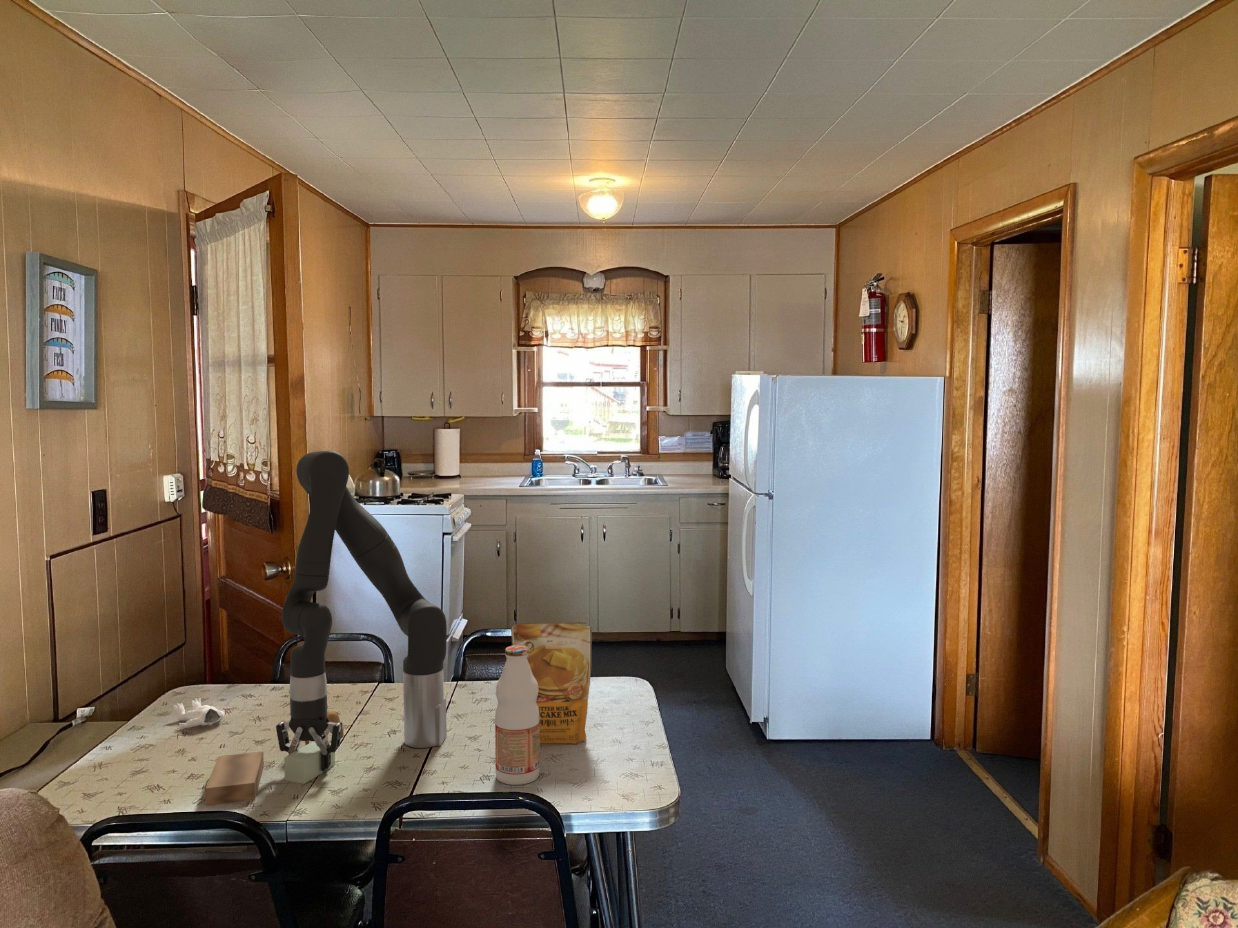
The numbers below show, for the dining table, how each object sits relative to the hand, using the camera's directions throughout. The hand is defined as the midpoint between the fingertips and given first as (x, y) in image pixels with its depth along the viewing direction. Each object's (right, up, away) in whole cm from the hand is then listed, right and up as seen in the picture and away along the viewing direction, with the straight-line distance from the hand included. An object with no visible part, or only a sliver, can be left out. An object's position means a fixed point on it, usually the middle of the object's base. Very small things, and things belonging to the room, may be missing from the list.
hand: (310, 769), depth 186 cm
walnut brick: (-13, -2, -6) cm, 15 cm away
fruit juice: (+45, -1, -2) cm, 45 cm away
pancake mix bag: (+51, 0, +18) cm, 54 cm away
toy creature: (-38, +1, +29) cm, 47 cm away
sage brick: (0, -1, 0) cm, 1 cm away
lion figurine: (-3, 0, +15) cm, 15 cm away
